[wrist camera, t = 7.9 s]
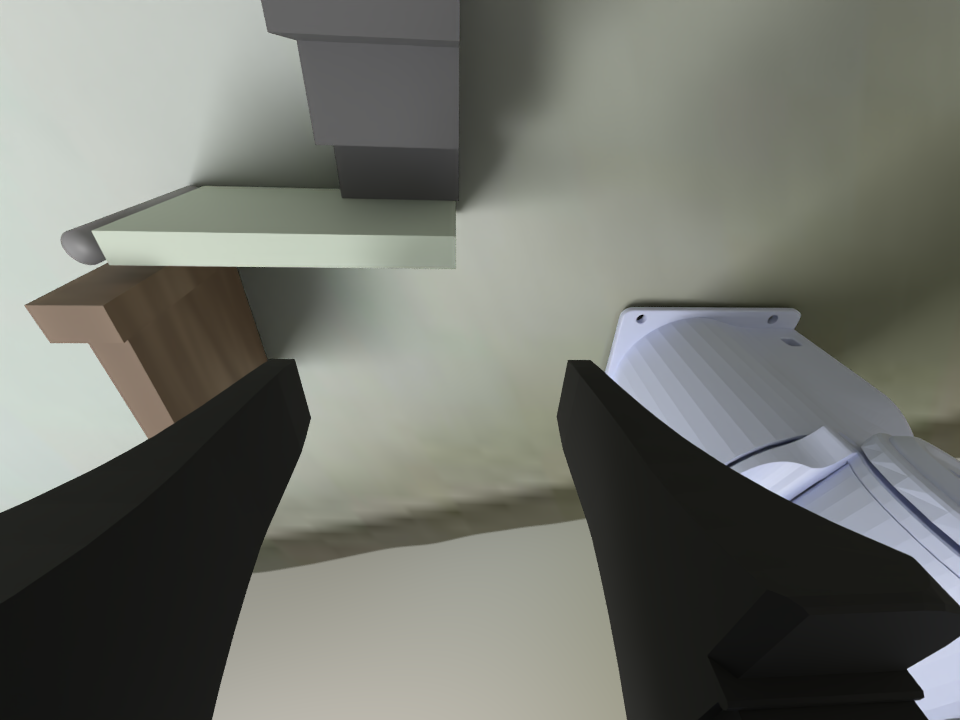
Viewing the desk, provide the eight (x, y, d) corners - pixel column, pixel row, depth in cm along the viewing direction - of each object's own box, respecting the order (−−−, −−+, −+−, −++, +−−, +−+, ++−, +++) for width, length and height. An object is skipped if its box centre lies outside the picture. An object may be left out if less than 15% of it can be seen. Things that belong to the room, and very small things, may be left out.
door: (187, 211, 16) (72, 264, 11) (177, 185, 16) (52, 230, 11) (455, 216, 17) (455, 268, 12) (455, 191, 16) (455, 236, 12)
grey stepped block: (320, -49, 13) (232, -135, 8) (458, -41, 13) (460, -119, 8) (353, 187, 17) (309, 230, 12) (458, 189, 17) (459, 232, 12)
